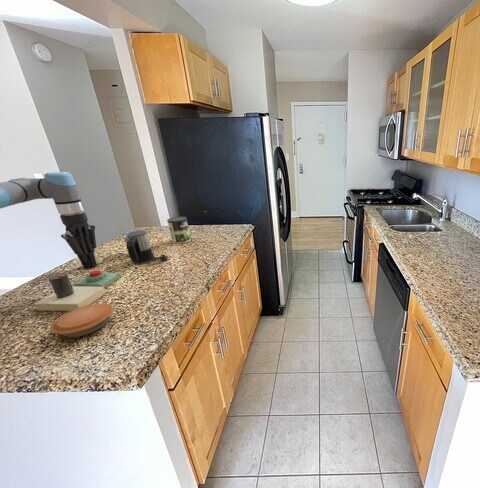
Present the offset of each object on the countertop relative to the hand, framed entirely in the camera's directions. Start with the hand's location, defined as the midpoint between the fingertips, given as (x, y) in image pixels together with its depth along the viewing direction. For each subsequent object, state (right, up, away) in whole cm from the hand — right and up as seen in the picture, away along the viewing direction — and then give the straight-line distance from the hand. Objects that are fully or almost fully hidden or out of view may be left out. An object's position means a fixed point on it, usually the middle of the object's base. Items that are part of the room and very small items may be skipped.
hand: (92, 266), depth 110 cm
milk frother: (+9, +1, +24) cm, 26 cm away
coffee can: (+11, +12, +50) cm, 53 cm away
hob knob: (0, -10, -11) cm, 15 cm away
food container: (-4, +4, +32) cm, 32 cm away
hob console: (+2, -13, -10) cm, 16 cm away
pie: (+20, -18, -23) cm, 35 cm away
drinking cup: (-16, -2, +17) cm, 24 cm away
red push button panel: (0, -7, +3) cm, 8 cm away
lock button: (0, -4, +2) cm, 4 cm away
